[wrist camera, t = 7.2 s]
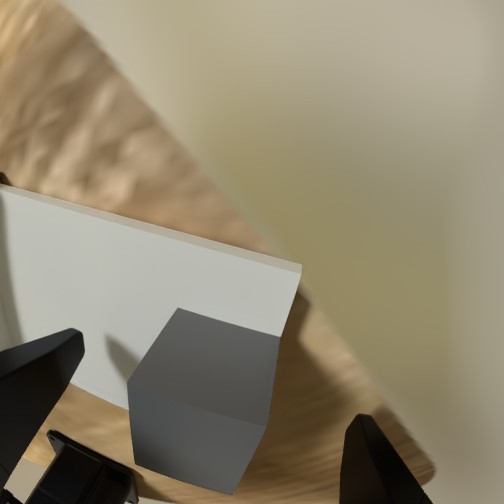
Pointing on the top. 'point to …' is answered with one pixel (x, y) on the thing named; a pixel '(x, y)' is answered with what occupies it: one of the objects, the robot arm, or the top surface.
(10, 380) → the robot arm
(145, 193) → the top surface
